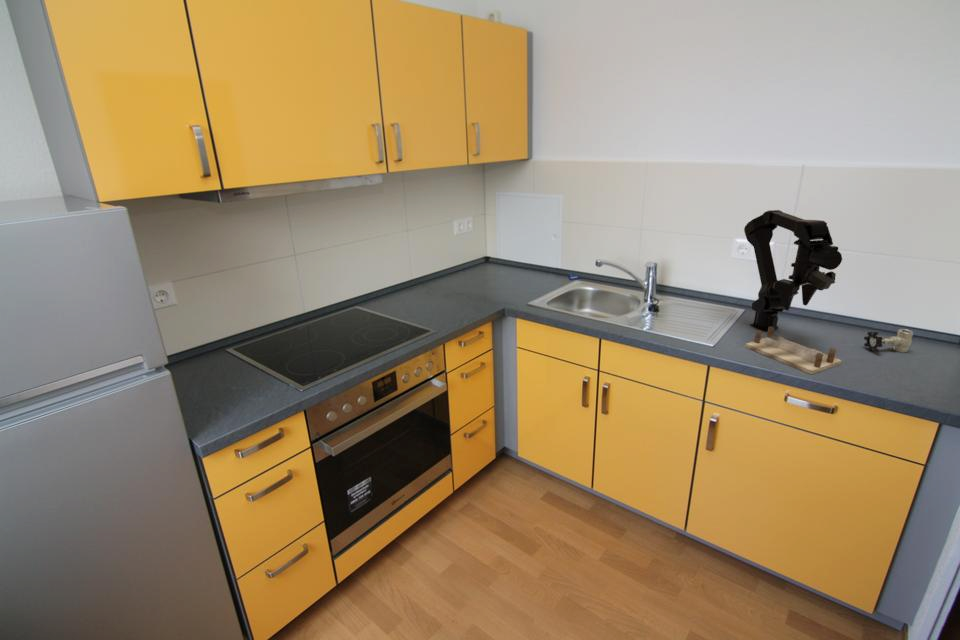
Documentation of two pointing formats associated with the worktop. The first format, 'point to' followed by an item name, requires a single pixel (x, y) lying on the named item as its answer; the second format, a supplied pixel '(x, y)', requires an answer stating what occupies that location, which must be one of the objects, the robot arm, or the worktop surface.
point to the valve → (890, 340)
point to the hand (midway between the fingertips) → (795, 307)
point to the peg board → (793, 355)
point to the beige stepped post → (792, 347)
